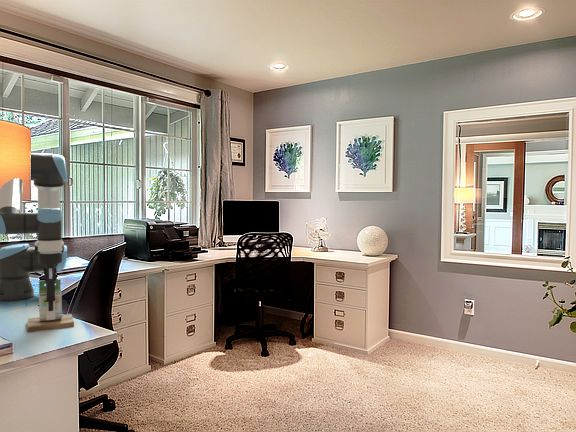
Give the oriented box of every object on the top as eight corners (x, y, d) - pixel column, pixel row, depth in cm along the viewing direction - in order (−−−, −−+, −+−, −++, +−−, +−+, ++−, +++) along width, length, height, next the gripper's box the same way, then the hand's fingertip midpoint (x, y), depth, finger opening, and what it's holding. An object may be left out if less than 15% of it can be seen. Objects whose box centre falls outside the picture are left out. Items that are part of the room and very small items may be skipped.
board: (28, 322, 155) (27, 318, 155) (71, 317, 162) (71, 313, 162) (27, 331, 144) (27, 327, 144) (73, 326, 151) (73, 322, 151)
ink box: (39, 321, 149) (38, 282, 149) (39, 318, 153) (38, 280, 152) (61, 318, 153) (61, 281, 152) (61, 316, 156) (61, 279, 156)
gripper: (37, 249, 157) (38, 313, 158) (37, 255, 143) (38, 325, 144) (61, 248, 161) (61, 311, 162) (63, 254, 146) (63, 322, 147)
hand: (50, 317), depth 153 cm, fingers closed on ink box, 4 cm apart
